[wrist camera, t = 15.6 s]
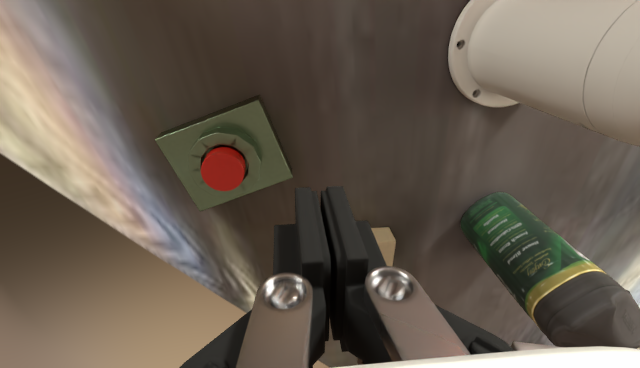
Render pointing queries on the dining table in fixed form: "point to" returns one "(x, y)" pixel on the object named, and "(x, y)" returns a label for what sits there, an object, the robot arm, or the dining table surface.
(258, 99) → the button housing
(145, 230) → the dining table surface
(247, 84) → the dining table surface
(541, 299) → the coffee jar
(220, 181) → the red button
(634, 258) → the dining table surface
